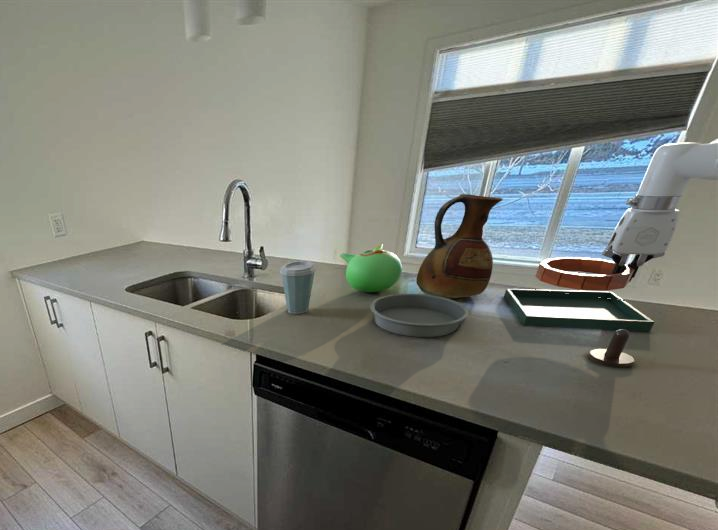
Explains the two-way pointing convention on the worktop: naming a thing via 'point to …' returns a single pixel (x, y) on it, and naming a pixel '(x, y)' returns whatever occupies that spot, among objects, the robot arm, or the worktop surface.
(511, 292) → the tray
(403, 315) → the cake pan
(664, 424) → the worktop surface
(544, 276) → the ring
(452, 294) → the ceramic pitcher
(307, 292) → the disposable coffee cup
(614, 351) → the post
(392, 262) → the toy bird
